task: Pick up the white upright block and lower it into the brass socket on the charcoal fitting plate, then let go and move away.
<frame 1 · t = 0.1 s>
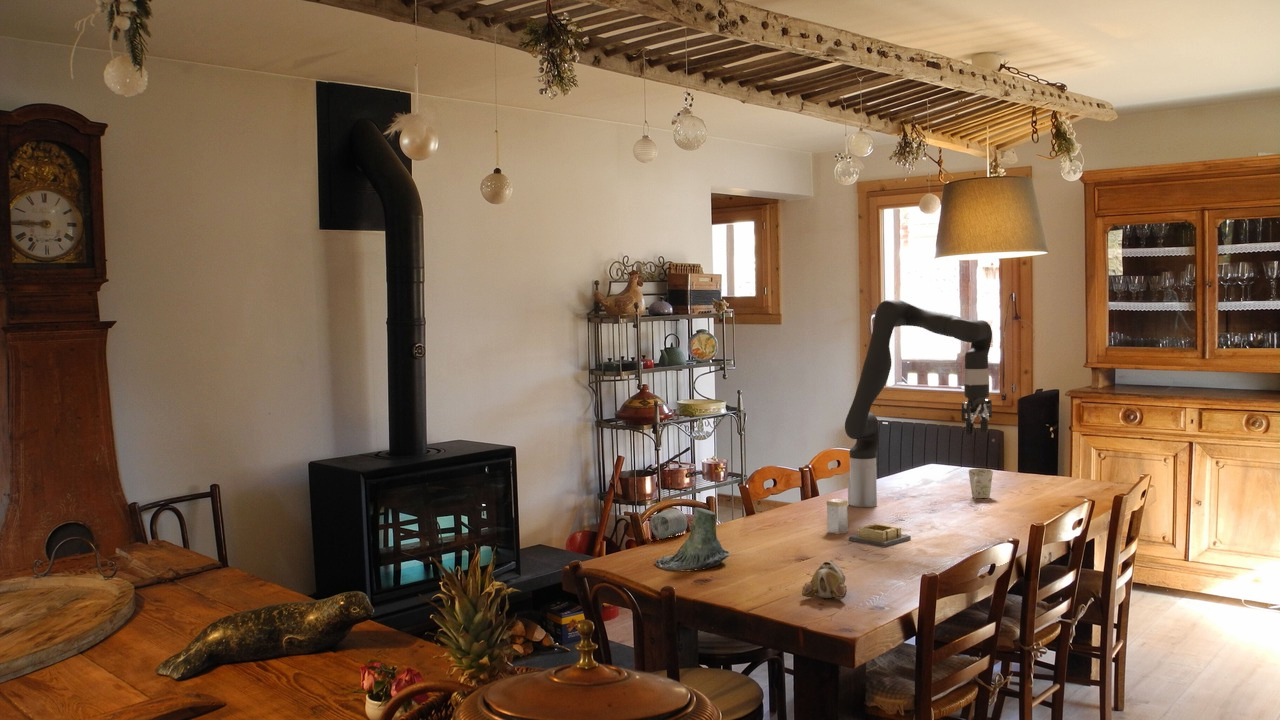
hand: (977, 433, 313), 29 cm above the table, fingers open, 8 cm apart
fitting socket: (879, 539, 295), on the table
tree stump: (692, 564, 274), on the table
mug: (979, 499, 355), on the table
white upright block: (837, 532, 307), on the table
ceramic sculpture: (827, 597, 238), on the table
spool: (669, 536, 308), on the table
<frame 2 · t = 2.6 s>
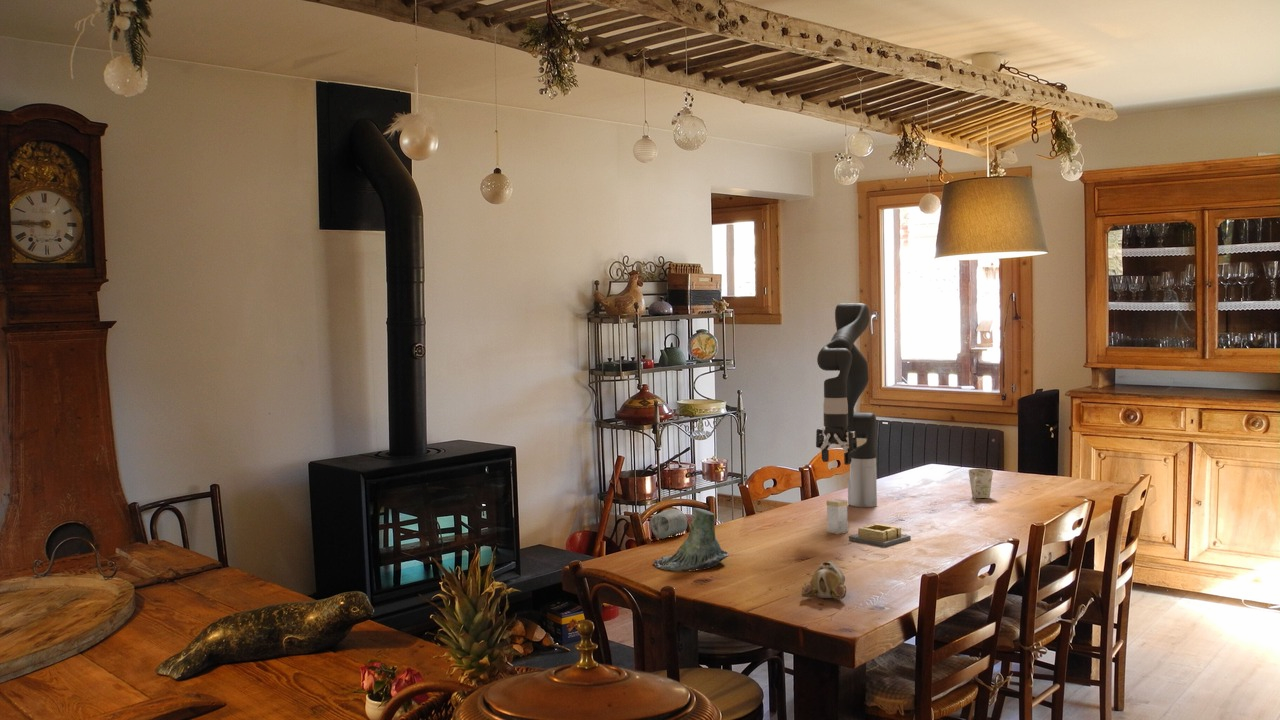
hand: (836, 463, 306), 22 cm above the table, fingers open, 8 cm apart
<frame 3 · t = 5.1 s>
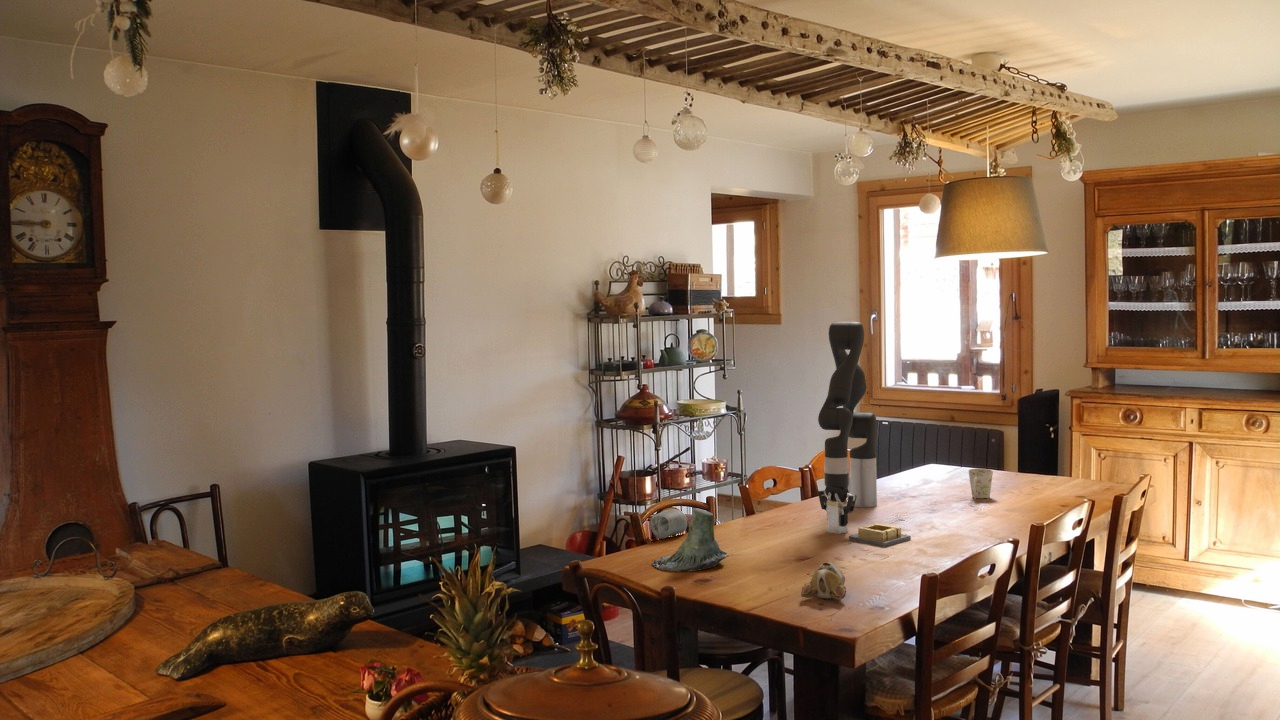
hand: (837, 524, 307), 2 cm above the table, fingers closed on white upright block, 4 cm apart
white upright block: (837, 531, 307), on the table, touching gripper
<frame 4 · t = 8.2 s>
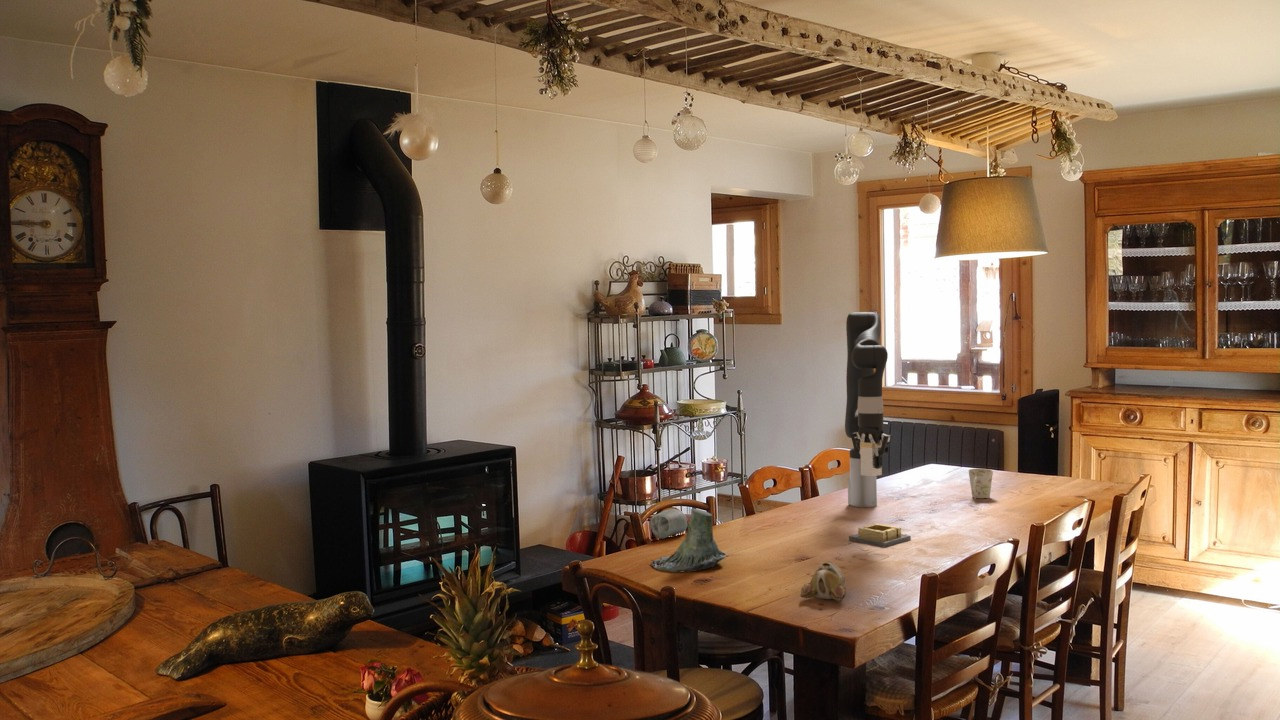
hand: (871, 467, 295), 22 cm above the table, fingers closed on white upright block, 4 cm apart
white upright block: (871, 474, 295), point 20 cm above the table, touching gripper
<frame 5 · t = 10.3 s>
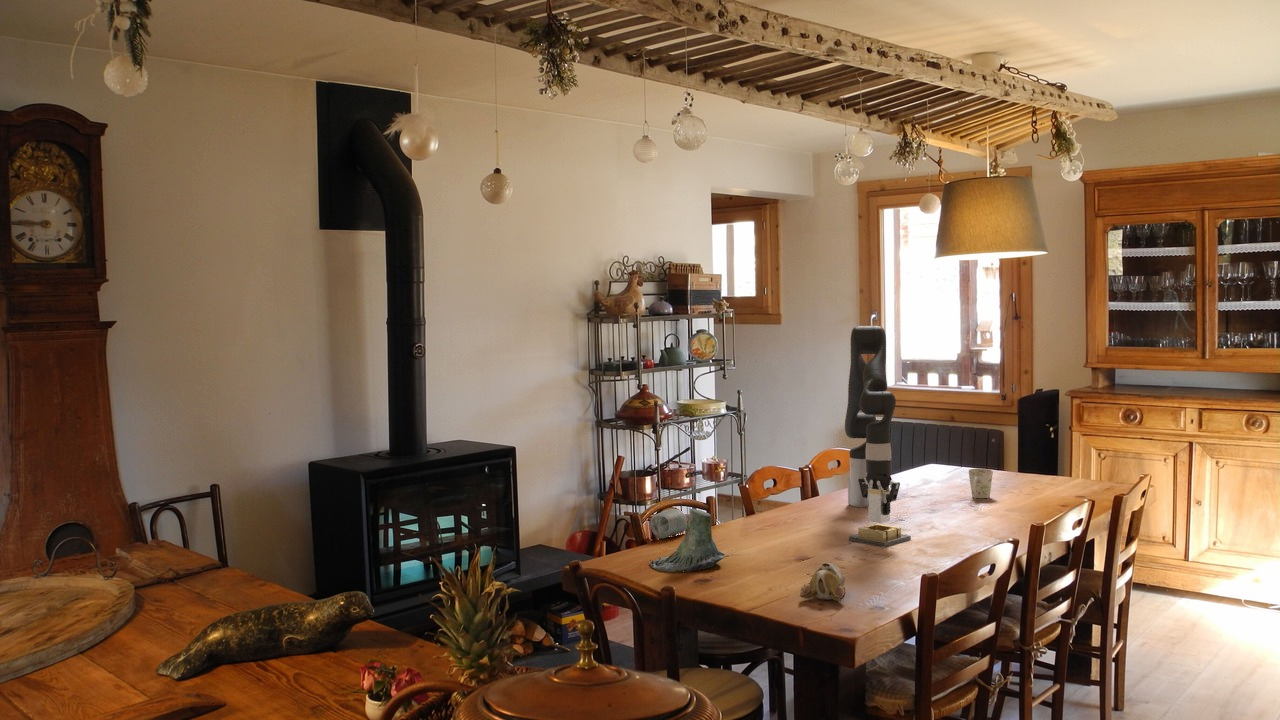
hand: (879, 513, 295), 8 cm above the table, fingers closed on white upright block, 4 cm apart
white upright block: (879, 521, 295), point 6 cm above the table, touching gripper
when the fingers open (5 cm above the table, at t = 11.7 s): white upright block drops 1 cm, resting on fitting socket.
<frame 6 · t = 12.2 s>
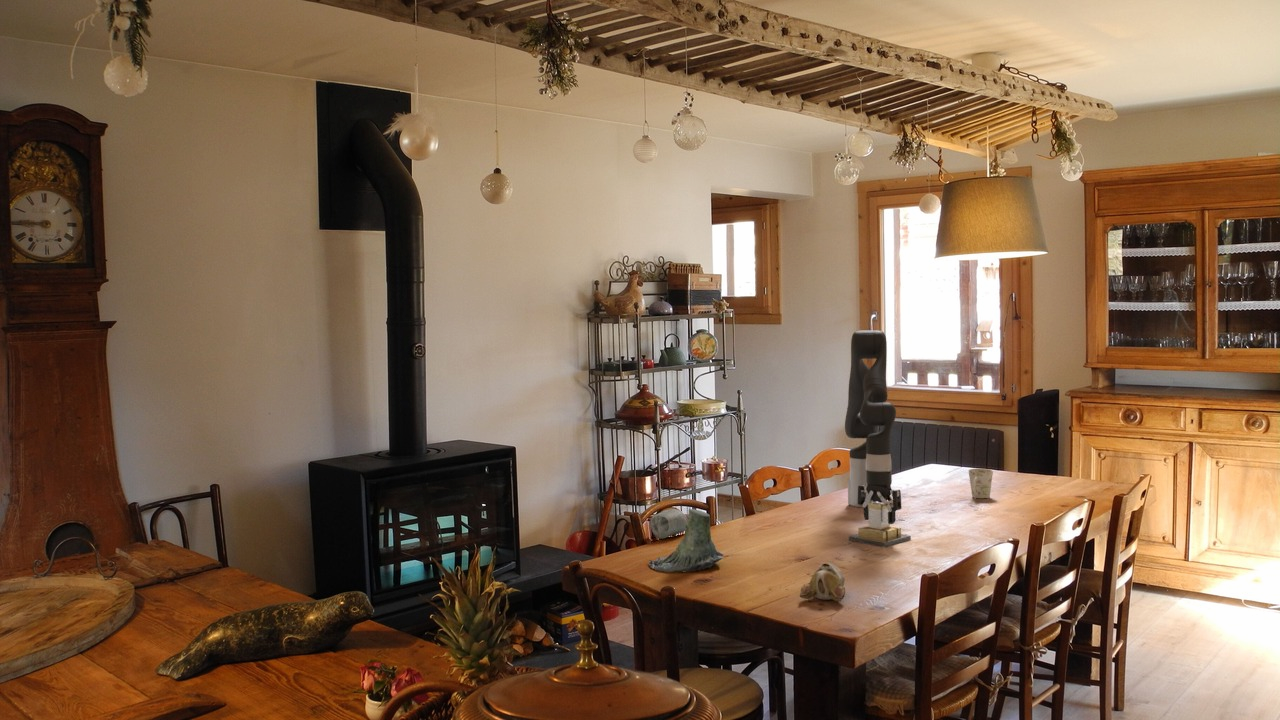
hand: (879, 521, 295), 6 cm above the table, fingers open, 8 cm apart
white upright block: (879, 535, 295), point 1 cm above the table, touching fitting socket
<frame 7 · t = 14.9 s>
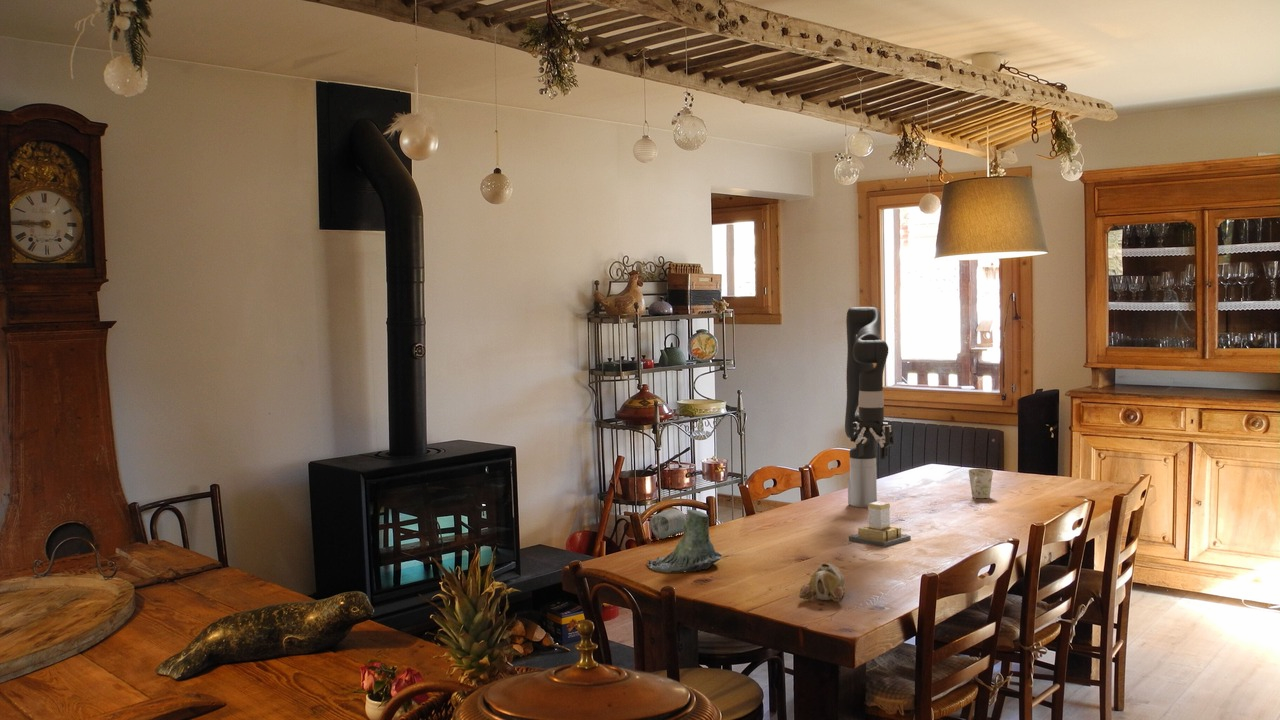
hand: (871, 457, 300), 24 cm above the table, fingers open, 8 cm apart
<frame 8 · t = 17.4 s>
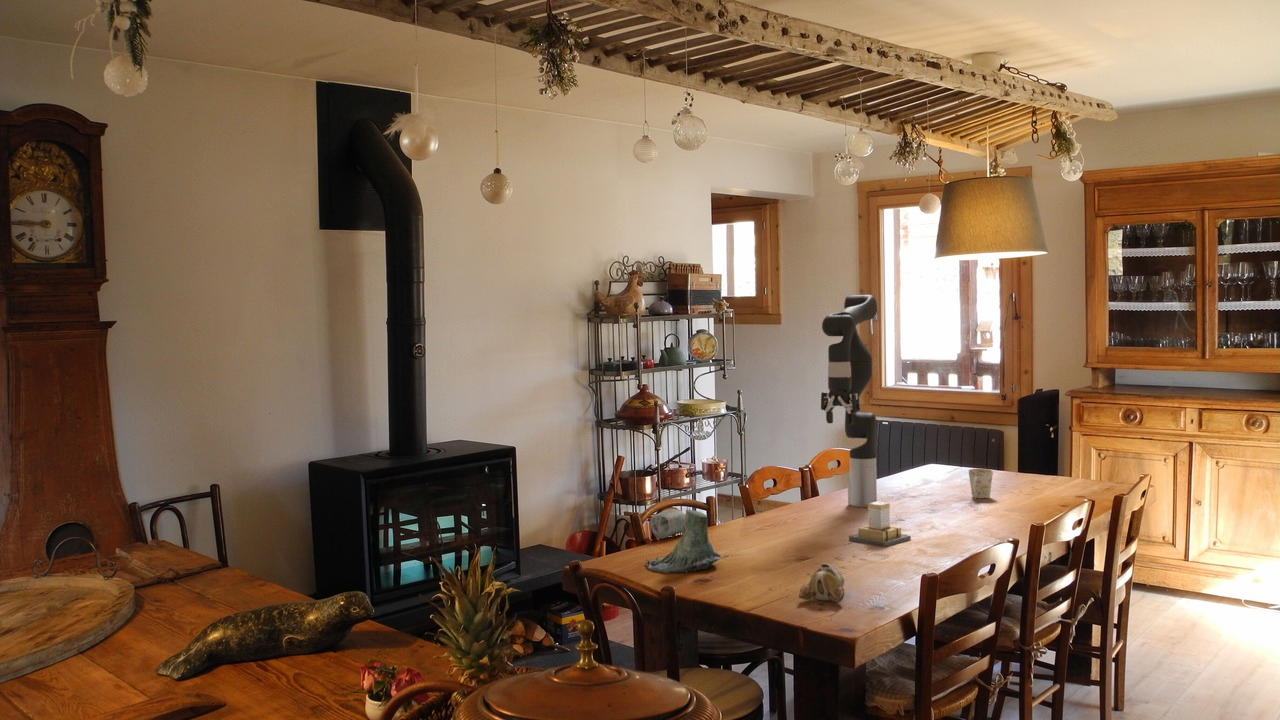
hand: (840, 424, 323), 32 cm above the table, fingers open, 8 cm apart
at the end: white upright block 0.1 cm off-centre on the fitting socket, point 1.2 cm above the fitting socket's base; white upright block tilted 0°; the gripper is holding nothing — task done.
